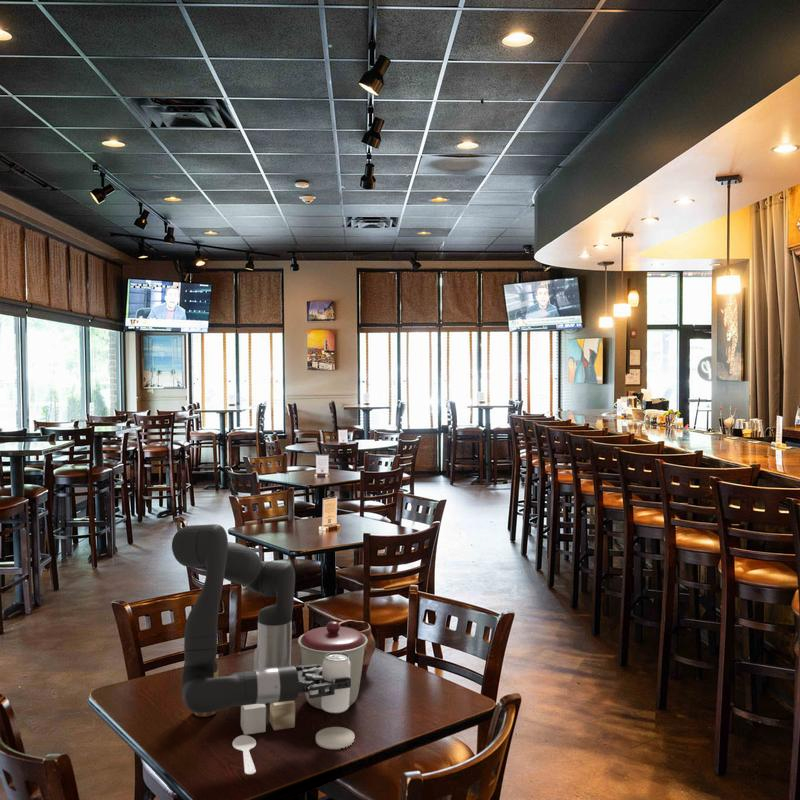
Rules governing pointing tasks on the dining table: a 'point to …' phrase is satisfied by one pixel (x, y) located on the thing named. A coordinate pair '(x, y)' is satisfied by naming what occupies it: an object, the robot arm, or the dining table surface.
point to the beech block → (282, 715)
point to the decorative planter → (366, 630)
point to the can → (332, 669)
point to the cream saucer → (335, 738)
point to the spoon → (246, 751)
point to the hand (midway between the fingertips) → (345, 676)
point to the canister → (330, 641)
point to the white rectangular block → (253, 718)
